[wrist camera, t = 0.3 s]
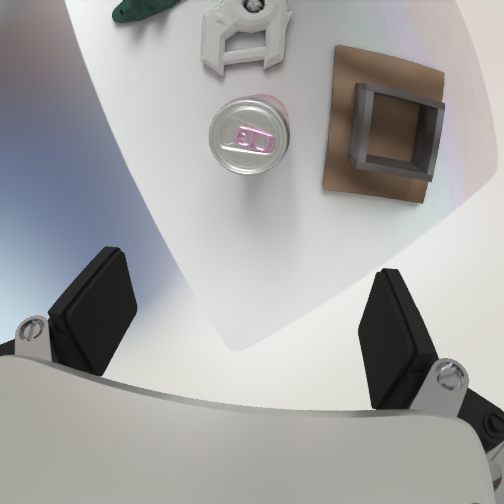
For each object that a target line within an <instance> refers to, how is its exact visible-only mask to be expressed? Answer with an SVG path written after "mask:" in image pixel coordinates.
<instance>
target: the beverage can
mask: <svg viewBox="0 0 504 504" xmlns="http://www.w3.org/2000/svg"><path fill="white" fill-rule="evenodd" d="M289 140H290V132H289V123H288V115H287V111H286V109H285V107H284V106H283V104H282V103H281V102H280V101H279V100H277V99H276V98H274V97H272V96H269V95H254V96H248V97H243V98H238V99H235V100H233V101H230V102H229V103H227V104H225V105H224V106H223V107H222V108H221V109H220V110H219V111H218V112H217V113H216V115H215V116H214V118H213V120H212V123H211V126H210V129H209V145H210V148H211V151H212V153H213V155H214V157H215V158H216V160H217V161H218V162H219V163H220V164H221V165H222V166H223V167H225V168H226V169H228V170H229V171H231V172H234V173H237V174H241V175H256V174H260V173H263V172H265V171H267V170H269V169H271V168H272V167H274V166H275V165H276V164H277V163H278V162H279V161H280V160H281V159H282V158H283V156H284V155H285V153H286V151H287V148H288V145H289Z"/></svg>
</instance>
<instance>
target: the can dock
mask: <svg viewBox="0 0 504 504" xmlns="http://www.w3.org/2000/svg"><path fill="white" fill-rule="evenodd" d="M444 74H445V73H443V72H441V71H438V70H435V69H432V68H429V67H426V66H423V65H420V64H417V63H414V62H410V61H407V60H403V59H400V58H396V57H392V56H388V55H384V54H380V53H376V52H372V51H367V50H362V49H357V48H352V47H346V46H341V45H337V46H335V64H334V80H333V93H332V105H331V116H330V127H329V137H328V146H327V155H326V163H325V172H324V179H323V189H324V190H332V191H340V192H348V193H356V194H364V195H371V196H378V197H385V198H392V199H398V200H404V201H410V202H416V203H422V204H423V201H424V198H425V193H426V189H427V185H428V182H432V178H433V173H434V169H435V164H436V159H437V154H438V148H439V143H440V137H441V131H442V124H443V117H444V109H445V103H442V97H443V87H444Z"/></svg>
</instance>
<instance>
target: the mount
mask: <svg viewBox="0 0 504 504" xmlns="http://www.w3.org/2000/svg"><path fill="white" fill-rule="evenodd" d="M179 1H180V0H123V1H122V2H121V3H120V4H119V5H118V6H117V7H116V8H115V9H114V11H113V13H112V18H113V20H114V21H116V22H120V23H124V22H131V21H139V20H143V19H145V18H147V17H149V16H151V15H154V14H156V13H158V12H161V11H163V10H166V9H168V8H171V7H172V6H173V5H175V4H176V3H177V2H179ZM124 14H125V15H124Z"/></svg>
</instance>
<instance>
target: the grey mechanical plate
mask: <svg viewBox="0 0 504 504" xmlns="http://www.w3.org/2000/svg"><path fill="white" fill-rule="evenodd" d="M247 1H248V0H222V2H221V4H220V5H218V6H217V7H216V8H214V9H213V10H211V11H210V12H209V13H207V14H206V15H204V16H203V26H202V46H201V62H203V63H204V64H206V65H207V66H208V67H210V68H211V69H213V70H214V71H215V72H217V73H218V74H219V75H221V76H222V77H224V68H225V65H230V64H236V63H243V62H251V61H259V60H264V69H267V68H269V67H271V66H273V65H275V64H277V63H279V62H281V61H284V49H285V35H286V27H287V25H288V22H289V20H290V18H291V15H292V13H293V10H292V11H289V12H287V2H286V0H263V1H264V3H265V5H264V9H263V10H259V13H253V14H252V12H250V13H249V12H248V11H247V10H246V9H245V7H244V5H245V2H247ZM246 6H247V7H248V9H249V10H250V11H257V10H258V9H260V8H261V7H262V4H261V2H260V1H259V0H249V1H248V2H247V4H246ZM265 30H266V39H265V46H260V47H253V48H246V49H240V50H234V51H228V52H225V48H226V40H227V39H228V38H230V37H231V36H232V35H234V34H235V33H237V32H247V33H256V32H260V31H265ZM264 69H263V70H264Z"/></svg>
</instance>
